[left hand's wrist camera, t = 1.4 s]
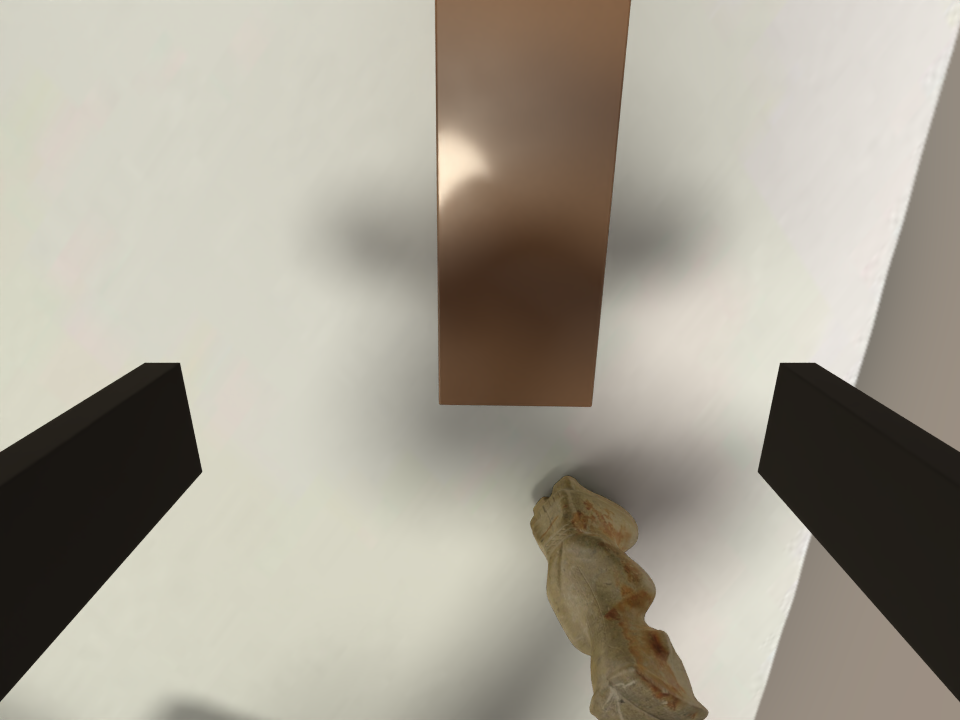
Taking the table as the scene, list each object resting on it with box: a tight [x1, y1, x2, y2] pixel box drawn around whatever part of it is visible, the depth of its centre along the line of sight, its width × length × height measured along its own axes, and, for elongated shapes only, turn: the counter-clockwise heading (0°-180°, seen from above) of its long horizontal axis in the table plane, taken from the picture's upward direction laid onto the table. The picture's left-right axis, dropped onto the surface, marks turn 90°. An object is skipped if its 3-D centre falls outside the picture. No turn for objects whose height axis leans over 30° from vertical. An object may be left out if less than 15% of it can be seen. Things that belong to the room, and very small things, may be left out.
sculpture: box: [530, 476, 708, 720], centre depth 31 cm, size 6×7×15 cm
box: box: [435, 0, 631, 407], centre depth 24 cm, size 22×6×12 cm, turn 179°
